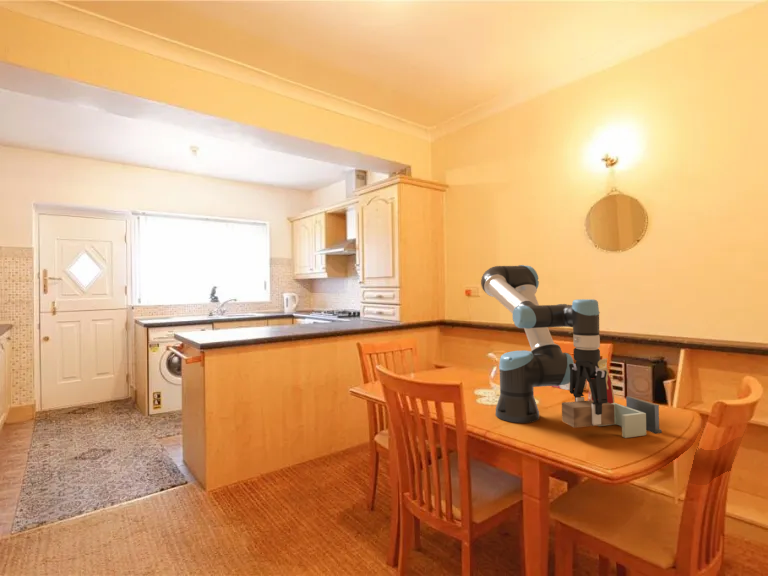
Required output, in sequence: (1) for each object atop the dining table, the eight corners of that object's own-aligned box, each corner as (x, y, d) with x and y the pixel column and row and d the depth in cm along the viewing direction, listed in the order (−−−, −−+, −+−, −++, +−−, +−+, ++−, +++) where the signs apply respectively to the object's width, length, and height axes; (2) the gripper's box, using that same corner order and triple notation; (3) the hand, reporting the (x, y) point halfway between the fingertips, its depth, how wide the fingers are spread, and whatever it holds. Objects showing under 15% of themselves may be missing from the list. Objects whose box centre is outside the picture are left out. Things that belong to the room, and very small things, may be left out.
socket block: (625, 437, 125) (624, 415, 125) (596, 425, 137) (595, 405, 137) (646, 434, 127) (645, 413, 127) (615, 422, 139) (615, 402, 138)
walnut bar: (573, 427, 124) (573, 407, 124) (562, 421, 130) (561, 402, 130) (614, 423, 127) (614, 404, 127) (601, 417, 132) (600, 399, 132)
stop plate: (655, 433, 128) (654, 405, 128) (626, 422, 139) (626, 396, 139) (661, 432, 129) (661, 404, 129) (632, 421, 140) (632, 395, 140)
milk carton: (613, 408, 154) (612, 356, 154) (615, 416, 146) (614, 360, 146) (586, 406, 158) (585, 355, 158) (587, 413, 150) (586, 359, 149)
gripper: (556, 344, 137) (558, 413, 137) (599, 353, 118) (601, 432, 118) (575, 343, 139) (576, 411, 139) (620, 351, 120) (622, 429, 120)
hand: (588, 420), depth 128 cm, fingers closed on walnut bar, 6 cm apart
